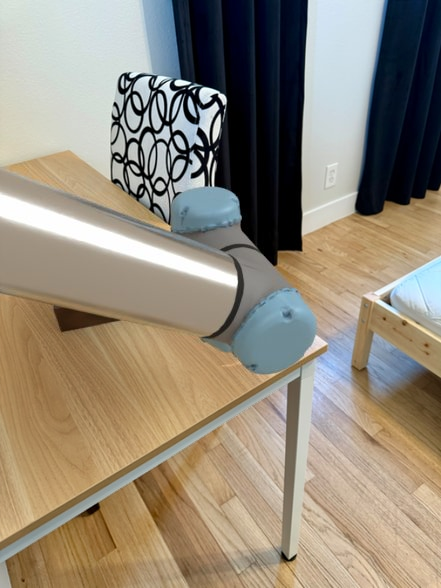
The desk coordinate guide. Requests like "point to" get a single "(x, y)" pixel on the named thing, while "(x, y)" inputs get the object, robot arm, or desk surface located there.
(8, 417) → the desk surface
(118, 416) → the desk surface
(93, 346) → the desk surface
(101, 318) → the block
